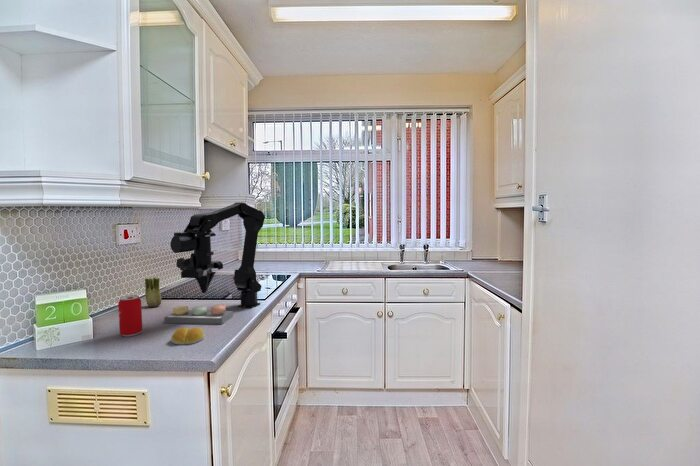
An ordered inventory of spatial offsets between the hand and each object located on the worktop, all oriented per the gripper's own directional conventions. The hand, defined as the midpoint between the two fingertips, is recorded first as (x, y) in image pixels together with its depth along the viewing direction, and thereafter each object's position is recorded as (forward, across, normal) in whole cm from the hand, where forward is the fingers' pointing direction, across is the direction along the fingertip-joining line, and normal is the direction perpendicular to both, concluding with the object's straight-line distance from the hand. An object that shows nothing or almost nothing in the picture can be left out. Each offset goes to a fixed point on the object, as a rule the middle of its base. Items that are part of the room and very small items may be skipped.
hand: (204, 292), depth 128 cm
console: (+10, 0, -2) cm, 10 cm away
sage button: (+8, 0, -2) cm, 8 cm away
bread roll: (+10, +20, +5) cm, 23 cm away
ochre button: (+8, +1, -9) cm, 12 cm away
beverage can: (+10, +17, -16) cm, 25 cm away
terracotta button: (+7, 0, +5) cm, 9 cm away
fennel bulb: (+10, -14, -30) cm, 34 cm away
